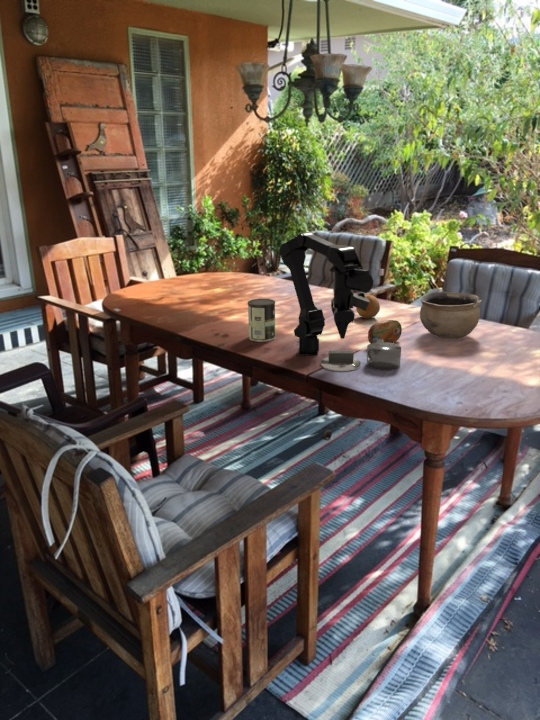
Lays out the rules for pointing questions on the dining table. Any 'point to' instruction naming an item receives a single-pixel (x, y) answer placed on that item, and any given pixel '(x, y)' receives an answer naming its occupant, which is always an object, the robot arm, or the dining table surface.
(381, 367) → the pot
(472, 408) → the dining table surface
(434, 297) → the ceramic bowl
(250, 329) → the coffee can
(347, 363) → the lid
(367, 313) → the onion
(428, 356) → the dining table surface
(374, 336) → the tin
